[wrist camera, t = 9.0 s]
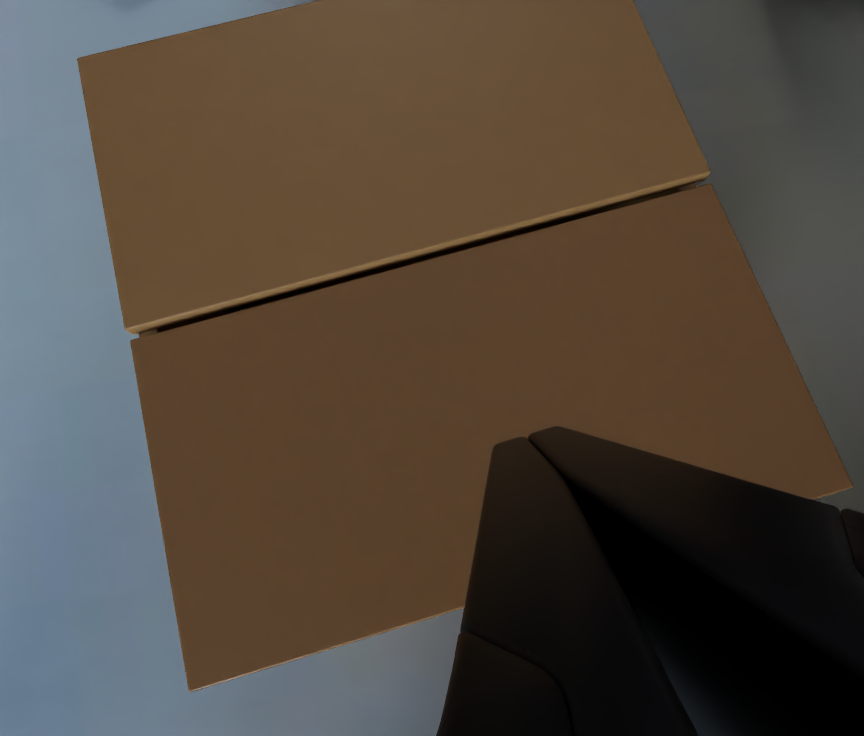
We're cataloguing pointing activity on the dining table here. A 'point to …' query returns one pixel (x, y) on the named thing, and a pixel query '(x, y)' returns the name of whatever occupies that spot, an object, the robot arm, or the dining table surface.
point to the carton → (368, 142)
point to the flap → (447, 418)
